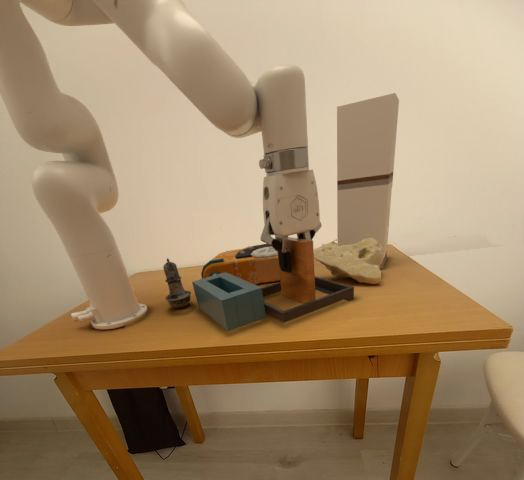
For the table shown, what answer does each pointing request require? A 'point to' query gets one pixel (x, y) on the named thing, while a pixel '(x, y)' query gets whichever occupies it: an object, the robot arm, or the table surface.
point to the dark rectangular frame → (322, 285)
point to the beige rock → (353, 260)
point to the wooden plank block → (299, 271)
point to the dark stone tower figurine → (175, 287)
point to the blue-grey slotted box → (229, 300)
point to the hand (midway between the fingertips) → (294, 267)
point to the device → (246, 264)
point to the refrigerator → (365, 169)
